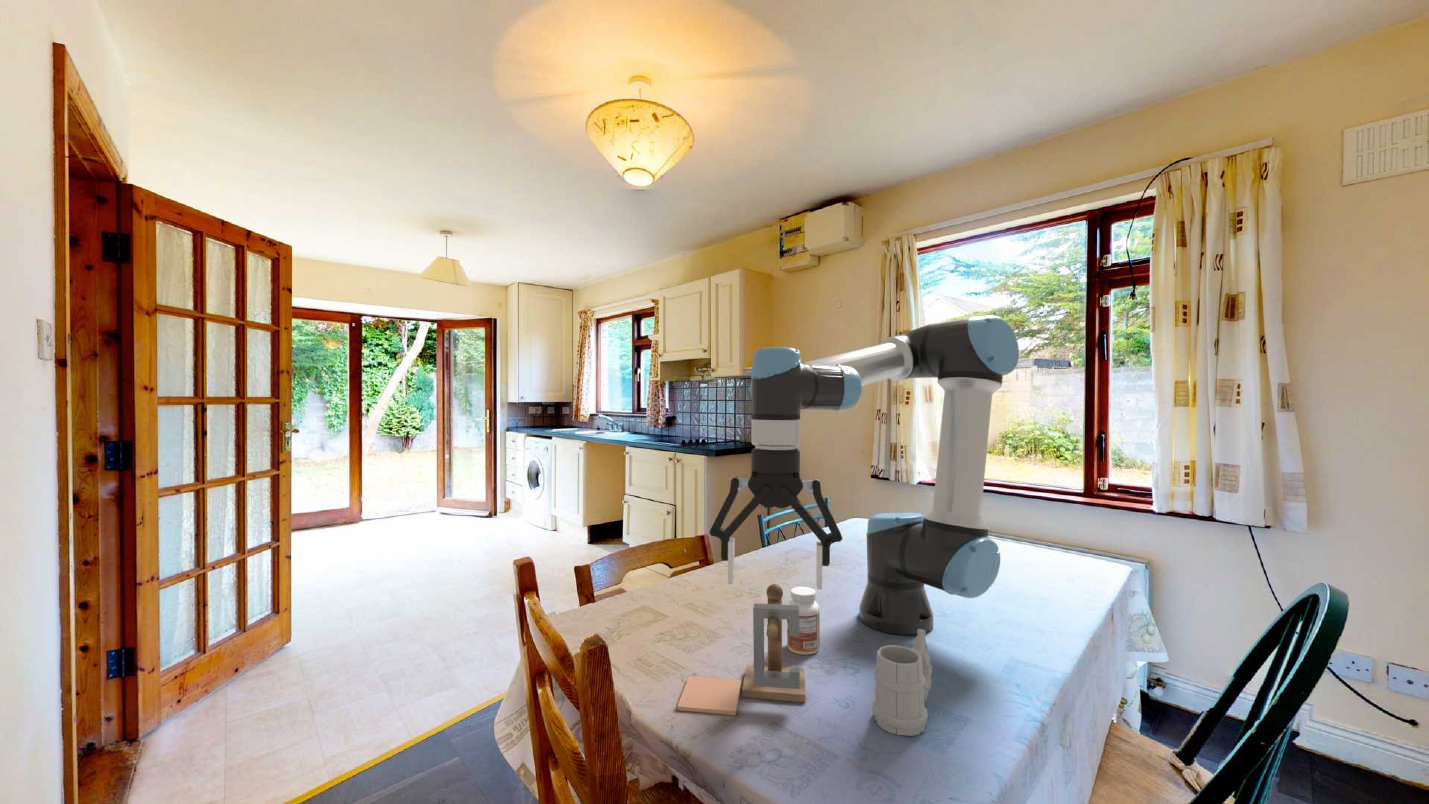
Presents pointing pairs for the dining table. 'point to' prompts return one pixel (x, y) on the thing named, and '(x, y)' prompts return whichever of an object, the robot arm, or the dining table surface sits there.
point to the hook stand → (773, 661)
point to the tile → (710, 695)
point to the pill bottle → (805, 622)
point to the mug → (902, 687)
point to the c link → (760, 675)
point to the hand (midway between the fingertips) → (774, 584)
